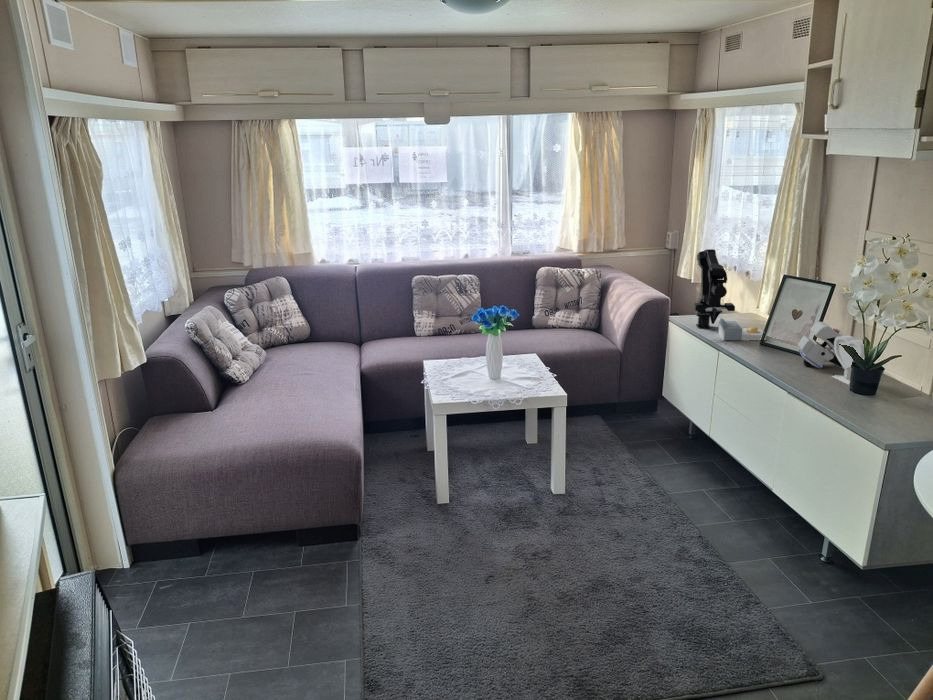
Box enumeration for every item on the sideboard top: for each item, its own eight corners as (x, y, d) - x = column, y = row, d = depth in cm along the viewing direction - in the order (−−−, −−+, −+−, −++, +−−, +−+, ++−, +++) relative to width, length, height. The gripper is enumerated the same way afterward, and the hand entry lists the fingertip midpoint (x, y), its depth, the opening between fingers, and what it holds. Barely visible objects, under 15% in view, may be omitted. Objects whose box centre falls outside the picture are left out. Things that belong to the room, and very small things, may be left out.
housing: (718, 333, 360) (719, 324, 358) (759, 334, 358) (760, 324, 356) (723, 340, 349) (724, 330, 347) (766, 341, 346) (767, 331, 345)
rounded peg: (747, 336, 355) (748, 326, 353) (755, 336, 354) (756, 326, 353) (749, 338, 351) (750, 328, 349) (757, 338, 350) (758, 328, 349)
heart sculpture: (828, 374, 299) (833, 333, 293) (838, 373, 300) (844, 332, 294) (854, 387, 284) (860, 344, 279) (865, 386, 285) (871, 343, 280)
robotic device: (833, 386, 306) (867, 351, 299) (793, 358, 305) (827, 322, 299) (826, 378, 316) (859, 343, 309) (787, 351, 315) (819, 315, 308)
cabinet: (718, 332, 361) (719, 317, 358) (734, 332, 360) (735, 317, 357) (724, 340, 348) (725, 324, 345) (741, 340, 347) (742, 324, 344)
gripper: (731, 289, 355) (728, 319, 359) (692, 289, 357) (690, 319, 362) (736, 294, 344) (733, 325, 349) (696, 294, 346) (694, 325, 351)
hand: (712, 323), depth 353 cm, fingers closed
